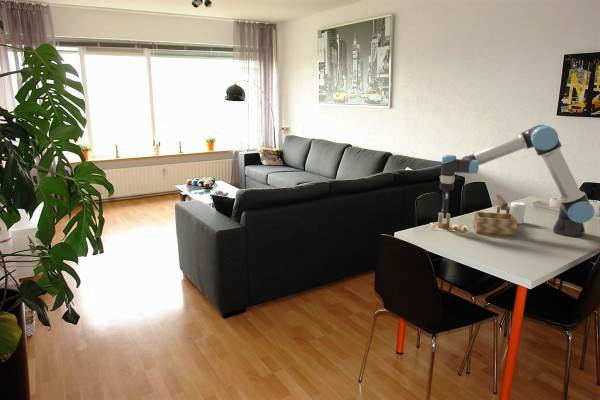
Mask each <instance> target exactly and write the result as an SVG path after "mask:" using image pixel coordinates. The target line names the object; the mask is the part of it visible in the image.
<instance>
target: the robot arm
mask: <svg viewBox="0 0 600 400" xmlns="http://www.w3.org/2000/svg"><path fill="white" fill-rule="evenodd" d="M561 148H562V143H561V141H560V139H559V134H558V132H557V131H556V129H555V128H553V127H551V126H549V125H544V124H539V125H535V126H532V127H531V128H529V129H527V130H525V131H522V132H520V133H519V135H517V136H515V137H511V138H509V139H507V140H505V141H503V142H499V143H497V144H495V145H492V146H490V147H488V148H487V147H486V148H485V149H482V150H480V151H478V152H475V153H473V154H470V155H465V156H463V157H462V158H460V159H459V158H457V156H456V155H455V154H444V155H442V158H441V162H440V163H441V165H440V166H441V167H440V176H439V180H440V181H439V182H440V183H439V189H440V190H441V191H442V192H441V194H442V196H441V197H442V202H441V212H440V213H442V224H447V213H449V203H450V202H449V201H450V196H451V192H450V191H453V190H454V186H455V183H454V182H455V175H456V174H457V173H459V174H470V175H472V174H478V172H479V166H481V165H484V164H486V163H489V162H492V161H495V160H498V159H500V158H502V157H505V156H508V155H510V154H513V153H516V152H518V151H521V150H523V149H525V150H529V149H534V151H535V152H536V154H537V156H539V157H541V158H542V159H543V161H544V163H545V165H546V168H547V169H548V171H549V173H550V176H551V177H552V180H553V181H554V184H555V185H556V187H557V189H558V192H559V193H560V195H561V197H560V204H559V205H560V206H559V211H558V212H559V213H558V218H557V220H556V221H555V224H554V226H553V228H552V232H553V233H555V234H558V235H561V236H566V237H575V238H579V237H584V236H585V233H586V230H585V226H584V223H588V222H590V221H591V219H593V217H595V208H594V205H593V204H592V203H591V202H590V201H589V198H588V196H587V193H586V192H585V191H581V189H580V188H579V185H578V184H577V182H576V180H575V177H574V176H573V174H572V172H571V169H570V167H569V165H568V164H567V162H566V159H565V157H564V155H563V153H562V151H561Z"/></svg>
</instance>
